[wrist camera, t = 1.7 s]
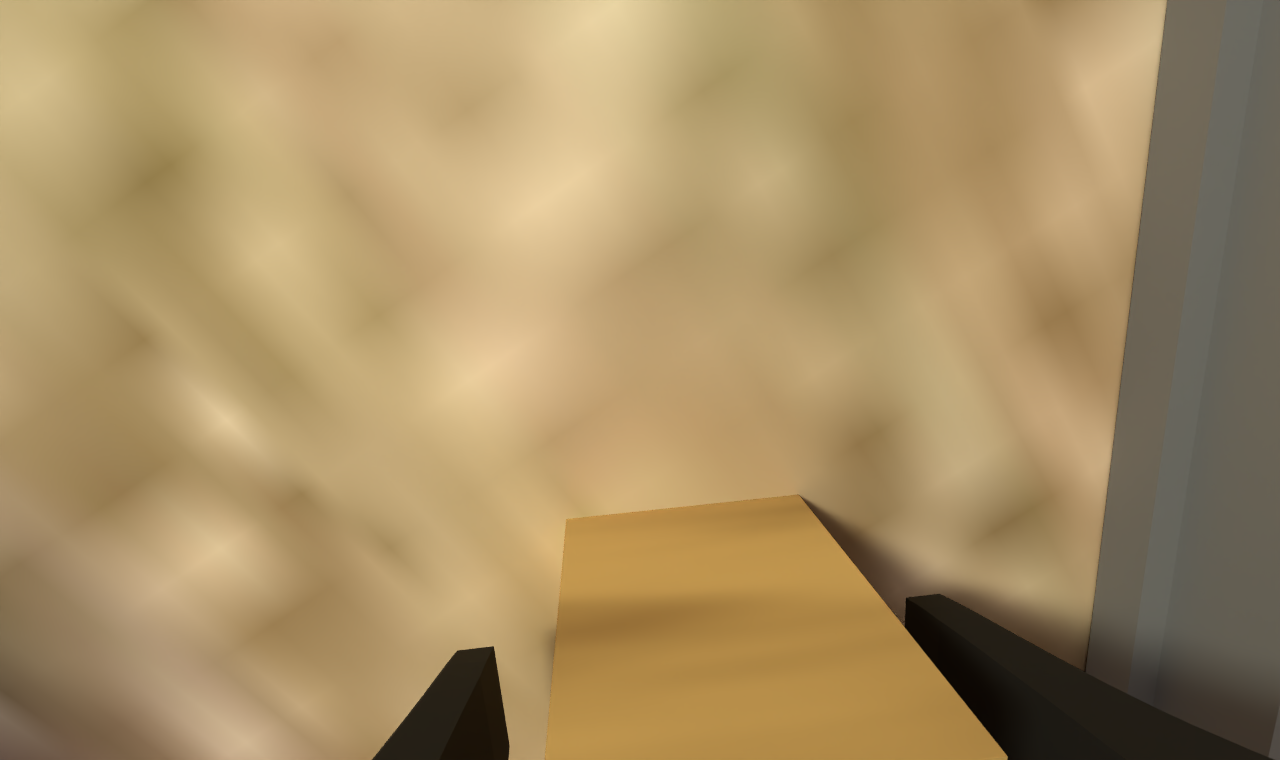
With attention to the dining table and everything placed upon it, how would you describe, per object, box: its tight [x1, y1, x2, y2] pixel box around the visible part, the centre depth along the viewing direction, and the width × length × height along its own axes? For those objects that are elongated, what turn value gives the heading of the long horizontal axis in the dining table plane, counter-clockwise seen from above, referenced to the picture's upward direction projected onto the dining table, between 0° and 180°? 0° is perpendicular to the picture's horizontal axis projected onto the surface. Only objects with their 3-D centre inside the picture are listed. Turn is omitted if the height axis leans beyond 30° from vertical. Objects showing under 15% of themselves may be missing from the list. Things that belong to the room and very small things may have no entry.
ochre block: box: [545, 495, 1008, 760], centre depth 9 cm, size 4×4×6 cm
